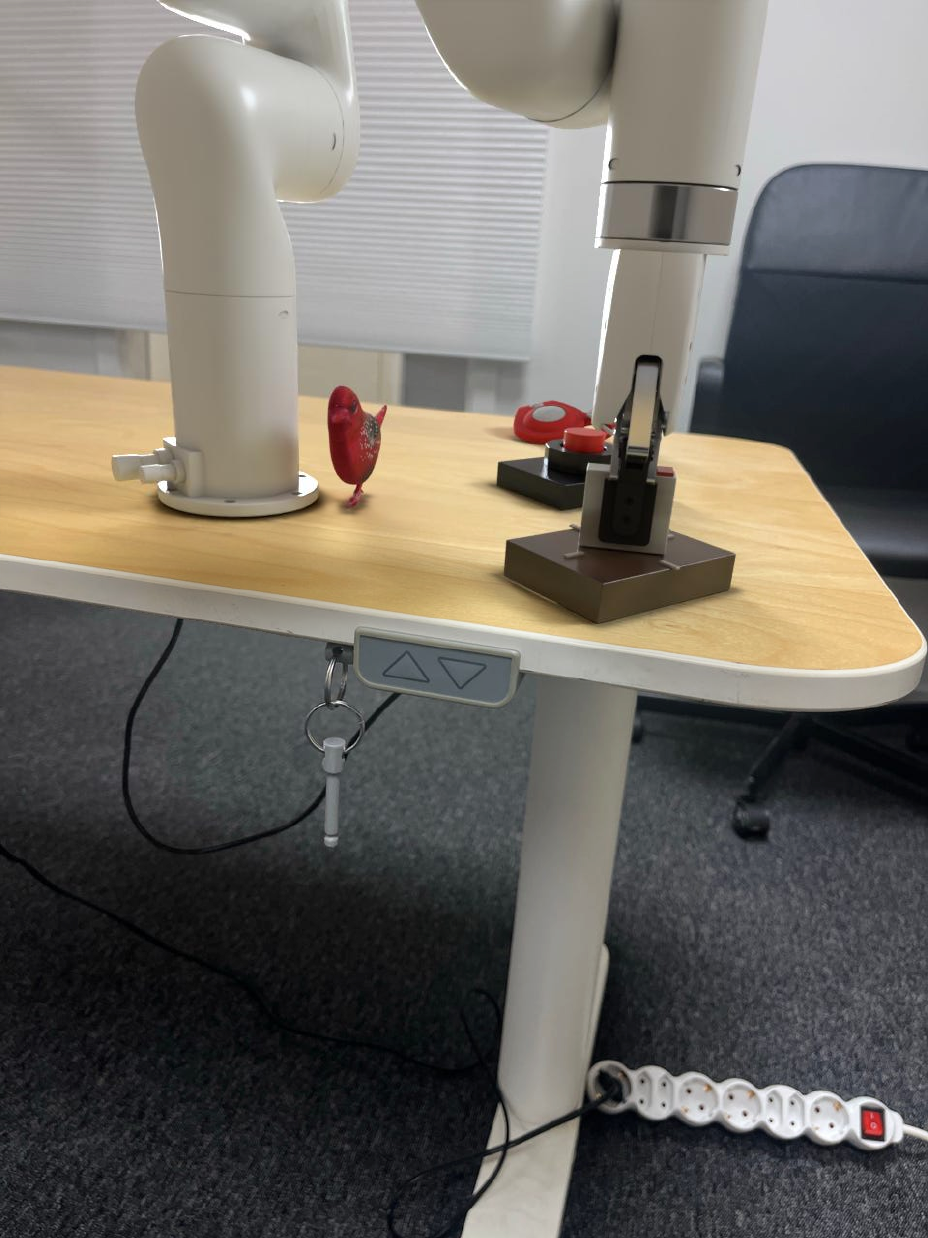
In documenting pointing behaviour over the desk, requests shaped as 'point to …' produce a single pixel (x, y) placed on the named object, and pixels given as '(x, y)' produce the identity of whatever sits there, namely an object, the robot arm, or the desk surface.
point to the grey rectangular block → (594, 504)
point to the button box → (552, 475)
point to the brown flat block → (616, 573)
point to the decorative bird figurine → (353, 439)
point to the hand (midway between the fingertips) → (623, 534)
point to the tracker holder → (551, 421)
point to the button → (584, 439)
